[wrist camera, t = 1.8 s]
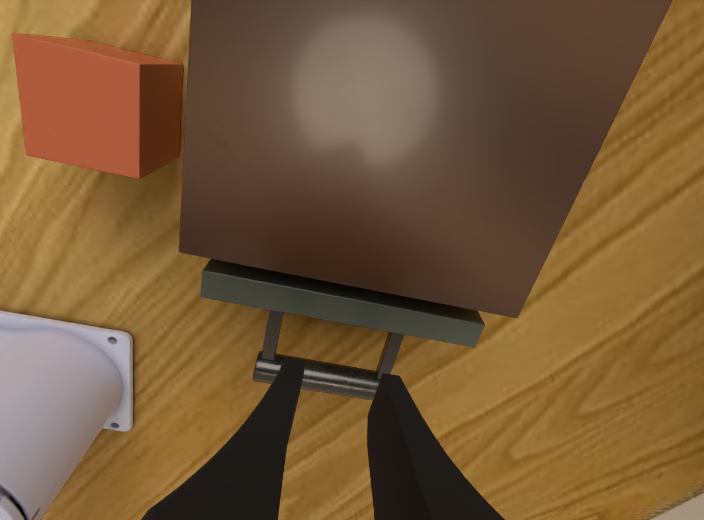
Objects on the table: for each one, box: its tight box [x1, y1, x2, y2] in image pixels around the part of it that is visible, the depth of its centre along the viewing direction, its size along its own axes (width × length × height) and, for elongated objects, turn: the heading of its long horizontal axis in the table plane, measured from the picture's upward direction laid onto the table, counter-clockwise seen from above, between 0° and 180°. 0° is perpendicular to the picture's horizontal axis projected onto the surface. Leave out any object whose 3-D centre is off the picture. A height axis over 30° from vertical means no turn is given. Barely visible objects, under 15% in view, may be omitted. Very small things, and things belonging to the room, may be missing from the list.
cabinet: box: [179, 0, 672, 318], centre depth 15 cm, size 14×12×7 cm
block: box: [12, 33, 183, 179], centre depth 17 cm, size 4×4×4 cm
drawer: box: [201, 259, 485, 400], centre depth 17 cm, size 18×11×6 cm, turn 167°
